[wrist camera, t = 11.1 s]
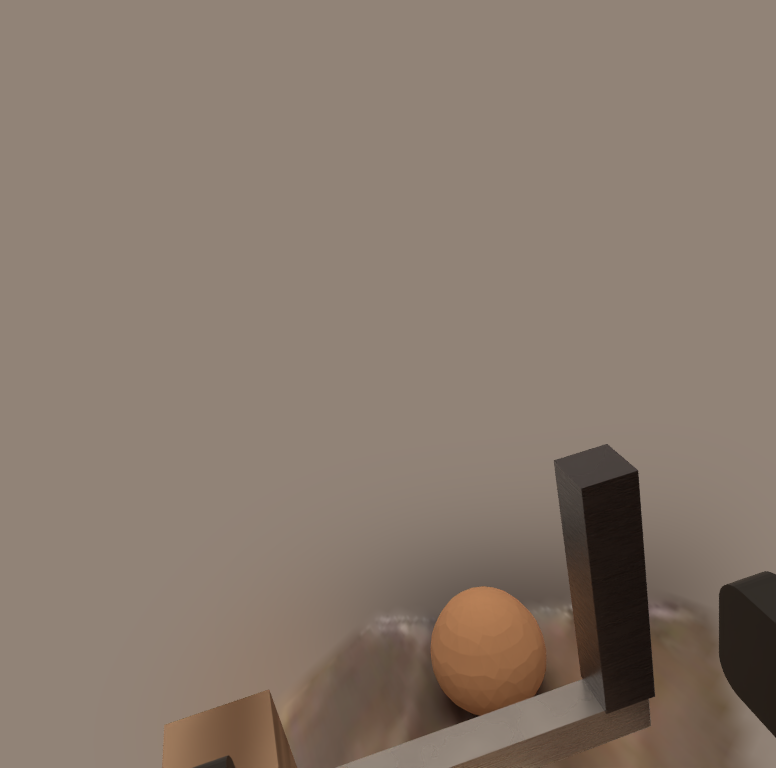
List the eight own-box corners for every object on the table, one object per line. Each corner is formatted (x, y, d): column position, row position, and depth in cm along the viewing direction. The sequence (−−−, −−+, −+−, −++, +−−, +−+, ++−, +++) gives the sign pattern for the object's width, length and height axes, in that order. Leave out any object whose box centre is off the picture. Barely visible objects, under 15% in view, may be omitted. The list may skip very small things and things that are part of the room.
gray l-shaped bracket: (250, 880, 31) (141, 628, 26) (247, 829, 34) (146, 587, 28) (657, 727, 34) (638, 470, 29) (629, 690, 36) (606, 443, 31)
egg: (429, 676, 52) (406, 580, 49) (526, 643, 53) (510, 547, 50) (462, 761, 46) (438, 657, 42) (572, 721, 46) (557, 617, 43)
